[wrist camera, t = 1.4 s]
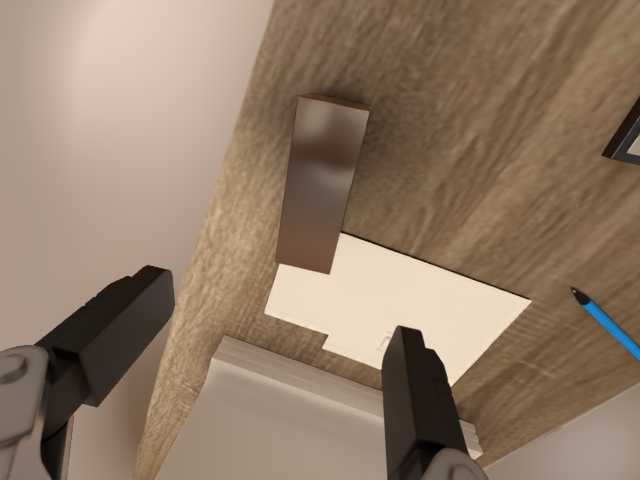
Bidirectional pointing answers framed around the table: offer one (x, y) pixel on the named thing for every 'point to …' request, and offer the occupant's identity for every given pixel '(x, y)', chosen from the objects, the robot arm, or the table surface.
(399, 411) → the robot arm
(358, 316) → the paper
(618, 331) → the pen
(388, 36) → the table surface
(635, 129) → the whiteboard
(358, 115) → the eraser
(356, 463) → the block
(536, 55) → the table surface
